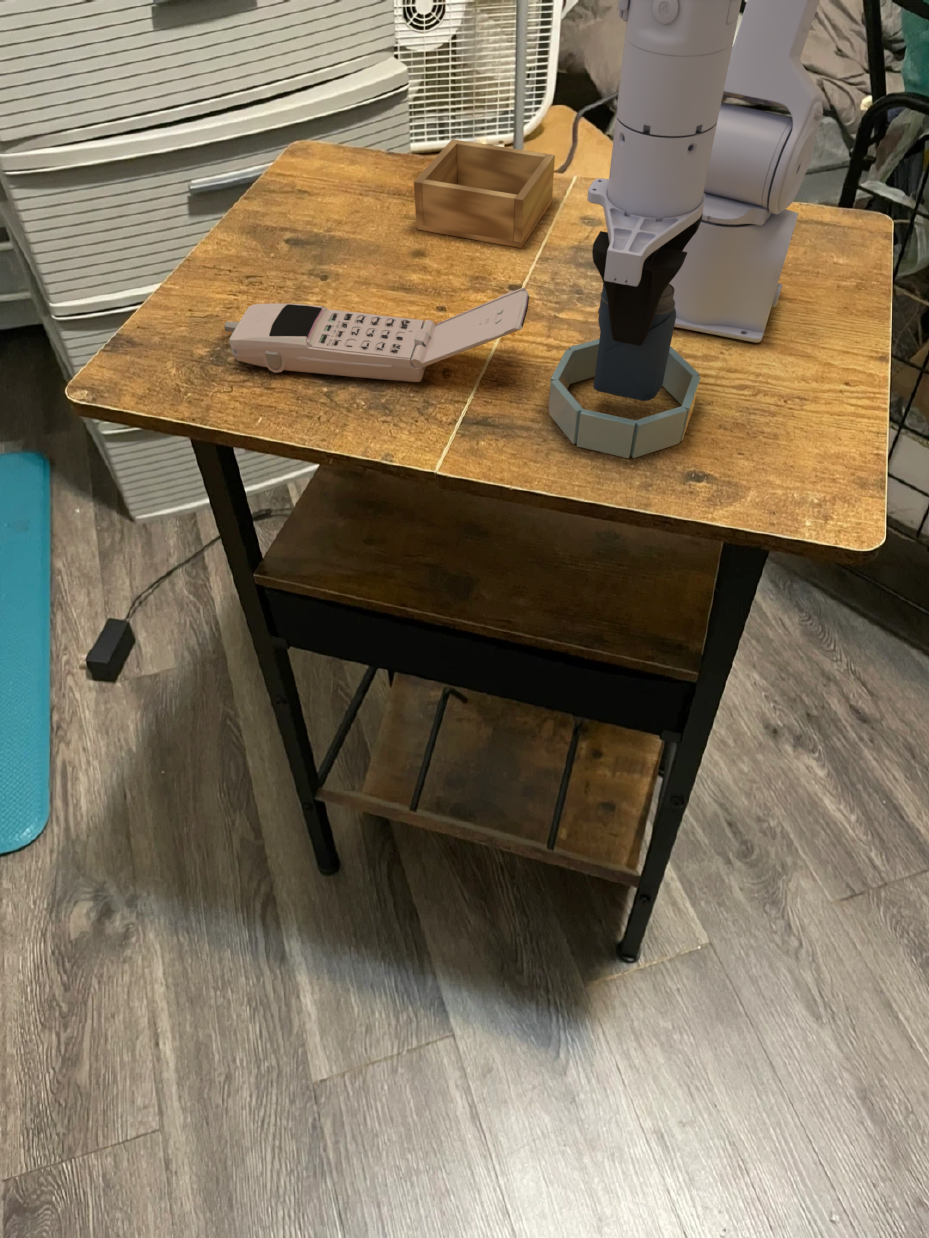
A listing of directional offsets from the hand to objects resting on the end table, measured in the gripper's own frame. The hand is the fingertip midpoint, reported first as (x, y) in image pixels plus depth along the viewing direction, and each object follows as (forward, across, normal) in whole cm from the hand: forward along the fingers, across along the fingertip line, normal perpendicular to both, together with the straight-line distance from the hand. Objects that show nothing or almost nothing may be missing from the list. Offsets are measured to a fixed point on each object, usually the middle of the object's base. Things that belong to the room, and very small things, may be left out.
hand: (633, 328), depth 60 cm
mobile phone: (+7, +1, -20) cm, 22 cm away
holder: (+7, -25, -20) cm, 33 cm away
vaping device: (+5, 0, 0) cm, 5 cm away
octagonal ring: (+7, 0, 0) cm, 7 cm away
